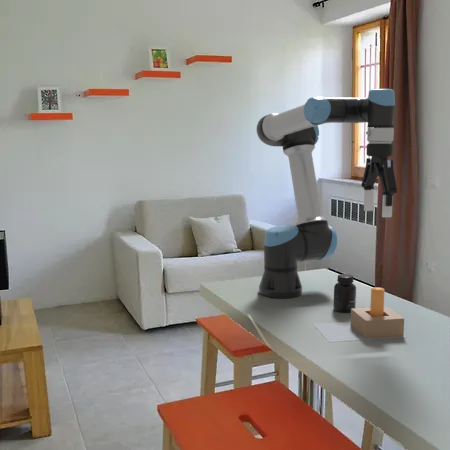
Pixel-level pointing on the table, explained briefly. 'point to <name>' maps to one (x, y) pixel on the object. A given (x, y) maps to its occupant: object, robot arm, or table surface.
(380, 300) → the peg
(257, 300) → the table surface
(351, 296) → the supplement bottle
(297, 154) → the robot arm
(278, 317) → the table surface
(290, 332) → the table surface
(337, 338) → the socket board
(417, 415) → the table surface
